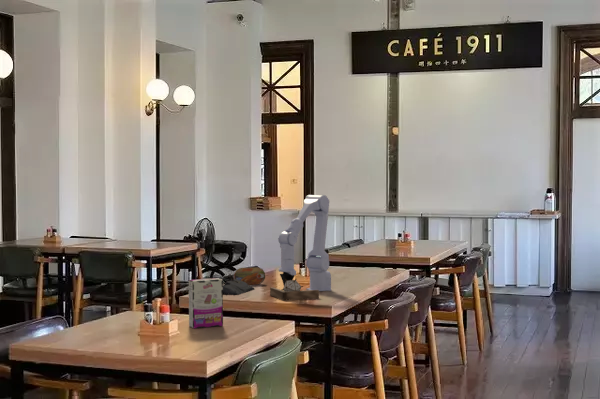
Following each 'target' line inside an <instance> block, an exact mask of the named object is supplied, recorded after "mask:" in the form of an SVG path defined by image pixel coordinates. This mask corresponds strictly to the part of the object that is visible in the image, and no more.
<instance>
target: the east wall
mask: <svg viewBox="0 0 600 399" xmlns="http://www.w3.org/2000/svg"><path fill="white" fill-rule="evenodd" d="M269 292H270V293H269V296H270V295H271V297H273V298H276V299H278V298H279V300H281V301H288V300H287V299H285V298H287V296H286V294H287V292H286V294H284V296H286V297H284V296H282V294H283V292H285V291H283V290H281V289H279V288H276V287H270V288H269ZM282 297H284V299H285V300H283V298H282Z"/></svg>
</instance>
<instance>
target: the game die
mask: <svg viewBox="0 0 600 399" xmlns="http://www.w3.org/2000/svg"><path fill="white" fill-rule="evenodd" d="M285 280H286V279H285ZM302 288H304V285H301V284H300V283H299V282H298V279H297V278H295V279H293V280H286V283H285V285H283V288H282V289H280V290H283V291H285V292H287V291H301V289H302Z"/></svg>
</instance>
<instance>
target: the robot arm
mask: <svg viewBox="0 0 600 399" xmlns="http://www.w3.org/2000/svg"><path fill="white" fill-rule="evenodd" d="M329 208H330V199H329V197H328V196H327V195H325V194H322V195H320V194H308V195H306V196H305V199H304V200H303V206H302V207H301V209H300V211H299V213H298V214H297V216H296V218H293V219H291V220H290V222H289V225H288V226H287V227H286V229H285V230H284V231H282V232H281V233H280V234H279V235H278V238H277V240H278V243H279V247H280V266H279V267H278V270H277V271H278V272H280V273H279V276H280V279H281V280H282V284H283V286H284V285H285V283H286V280H294V278H295V276H297V270H296V269H295V245H296V244H297V242H298V237H299V234H300V232H301V231H302V229H303V228H304V222H305V220H306V219H307V218H308V217H309V215H310V214H311V213H314V214H315V216H316V217H315V223H314V224H315V226H314V234H313V243H312V244H313V245H312V250H310V251H309V252H308V256H307V259H306V263H305V264H306V268H307V269H308V271H309V287H308V288H307V287H306V288H305V289H306V290H319V292H329V291H330V292H332V274H331V272H330V271H329V270H328V269H329V267H330V259H329V258H330V257H329V256H330V255H329V254H328V253H327V252H326V250H325V249H326V240H327V228H328V219H329ZM285 279H286V280H285Z"/></svg>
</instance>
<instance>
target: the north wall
mask: <svg viewBox="0 0 600 399" xmlns="http://www.w3.org/2000/svg"><path fill="white" fill-rule="evenodd" d="M284 294H286V292H283V294H282V296H284ZM286 296H287V298H285V299H287V300H285V299H284V297H286ZM286 296H284V297H282V298H283V300H282V301H293V300H294V301H296V300H297V301H299V300H312V299H314V300H315V299H320V291H319V290H307V289H306V290H300V291H287V294H286Z"/></svg>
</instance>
